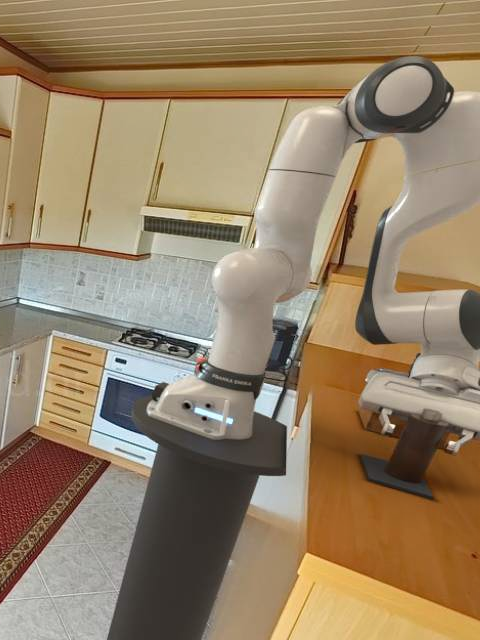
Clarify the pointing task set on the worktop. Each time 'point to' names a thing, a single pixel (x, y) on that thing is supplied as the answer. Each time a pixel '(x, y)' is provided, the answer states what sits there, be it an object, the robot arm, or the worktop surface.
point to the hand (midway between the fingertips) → (417, 443)
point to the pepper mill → (417, 446)
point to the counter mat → (379, 475)
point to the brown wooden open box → (374, 423)
